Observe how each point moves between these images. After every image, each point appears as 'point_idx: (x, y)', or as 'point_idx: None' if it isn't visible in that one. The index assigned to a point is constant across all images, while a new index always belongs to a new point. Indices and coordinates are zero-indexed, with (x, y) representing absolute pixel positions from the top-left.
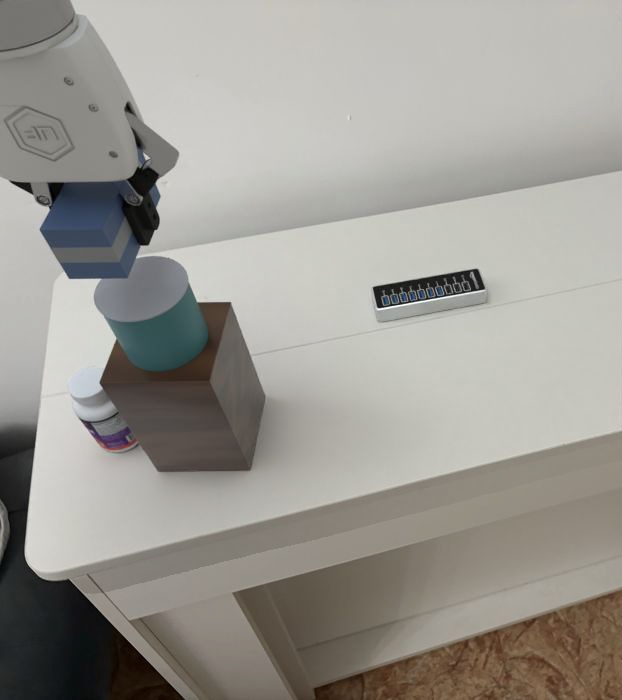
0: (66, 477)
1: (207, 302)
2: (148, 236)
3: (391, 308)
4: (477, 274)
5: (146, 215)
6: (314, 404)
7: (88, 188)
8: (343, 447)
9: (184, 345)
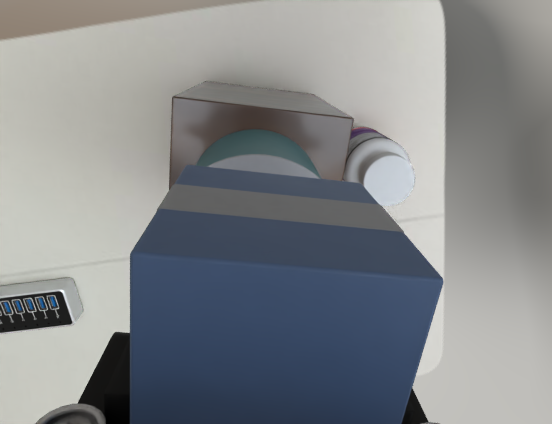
0: (416, 101)
1: None
2: None
3: (44, 290)
4: None
5: (98, 372)
6: (138, 167)
7: None
8: (94, 99)
9: (205, 155)
